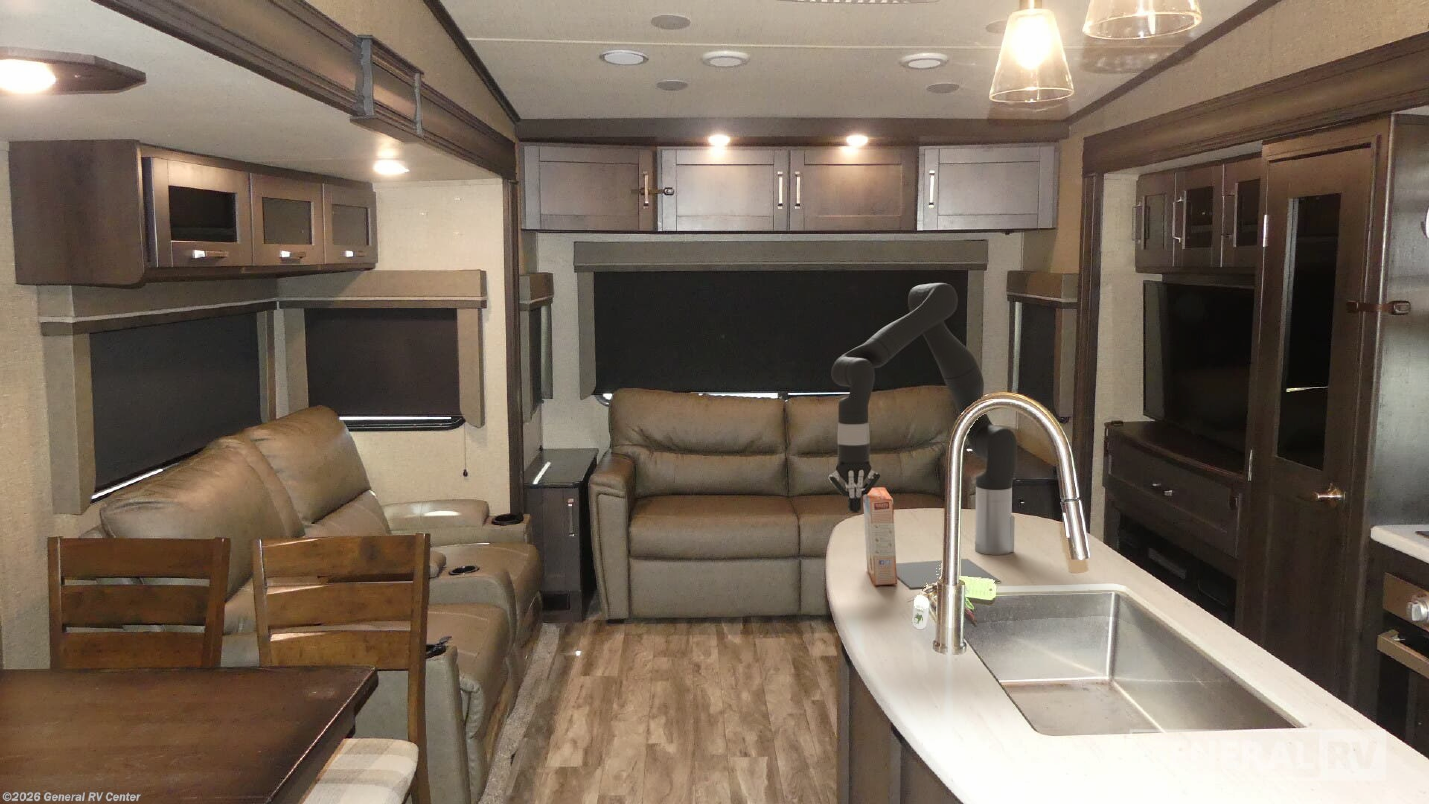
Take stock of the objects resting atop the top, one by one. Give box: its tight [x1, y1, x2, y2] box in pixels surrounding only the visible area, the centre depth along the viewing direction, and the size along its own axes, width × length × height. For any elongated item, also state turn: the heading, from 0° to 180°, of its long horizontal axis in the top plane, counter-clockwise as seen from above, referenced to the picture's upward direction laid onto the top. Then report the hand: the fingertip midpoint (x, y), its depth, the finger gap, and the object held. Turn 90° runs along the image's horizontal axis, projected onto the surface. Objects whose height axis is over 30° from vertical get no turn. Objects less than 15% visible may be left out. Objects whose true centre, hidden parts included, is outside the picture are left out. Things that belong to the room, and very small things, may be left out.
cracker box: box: [862, 487, 898, 586], centre depth 257 cm, size 14×6×21 cm, turn 179°
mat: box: [896, 558, 1002, 590], centre depth 261 cm, size 22×20×1 cm
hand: (854, 512), depth 255 cm, fingers closed
